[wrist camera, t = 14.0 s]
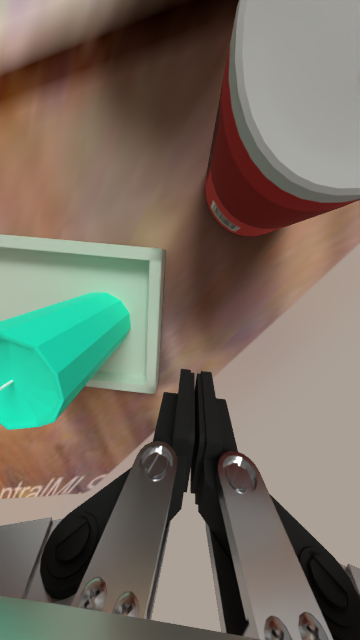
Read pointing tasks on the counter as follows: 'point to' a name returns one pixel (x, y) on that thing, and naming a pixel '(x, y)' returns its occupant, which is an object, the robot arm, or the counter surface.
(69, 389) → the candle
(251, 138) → the canned food
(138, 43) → the counter surface
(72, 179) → the counter surface
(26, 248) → the tray
